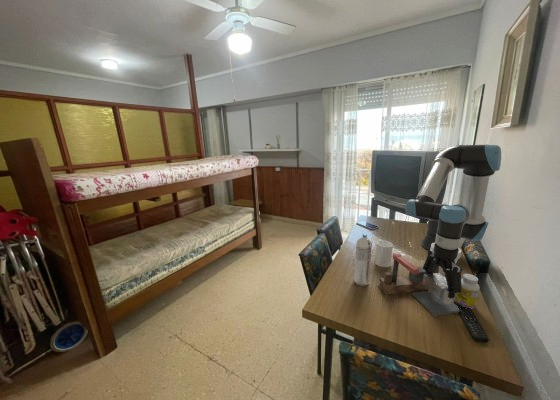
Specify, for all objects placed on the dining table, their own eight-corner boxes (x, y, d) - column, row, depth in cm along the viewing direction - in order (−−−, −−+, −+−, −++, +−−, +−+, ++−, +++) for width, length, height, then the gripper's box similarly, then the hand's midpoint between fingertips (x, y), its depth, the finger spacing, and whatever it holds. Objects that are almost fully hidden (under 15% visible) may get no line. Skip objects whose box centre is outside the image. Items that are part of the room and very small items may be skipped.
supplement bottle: (450, 299, 94) (455, 272, 90) (464, 297, 94) (470, 271, 91) (464, 310, 87) (470, 282, 84) (479, 309, 88) (486, 281, 84)
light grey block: (437, 283, 95) (439, 273, 93) (455, 297, 86) (457, 286, 85) (422, 284, 94) (423, 274, 93) (438, 299, 85) (440, 288, 84)
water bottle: (361, 288, 102) (365, 239, 96) (350, 280, 108) (353, 233, 102) (371, 283, 105) (376, 235, 99) (360, 276, 111) (364, 230, 105)
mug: (386, 272, 114) (389, 251, 111) (370, 266, 119) (371, 246, 116) (392, 262, 122) (395, 242, 119) (377, 257, 128) (378, 238, 125)
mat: (437, 292, 98) (438, 290, 98) (461, 312, 86) (462, 310, 86) (412, 294, 97) (412, 292, 97) (433, 315, 85) (434, 313, 85)
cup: (430, 276, 109) (434, 251, 106) (424, 263, 120) (428, 240, 117) (460, 280, 105) (466, 255, 101) (451, 267, 116) (456, 243, 112)
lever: (419, 273, 86) (420, 269, 86) (412, 274, 86) (412, 270, 85) (397, 256, 99) (398, 252, 98) (391, 257, 98) (391, 253, 98)
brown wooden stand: (430, 280, 106) (435, 252, 102) (440, 288, 100) (445, 258, 96) (379, 285, 104) (382, 256, 100) (386, 294, 98) (389, 263, 94)
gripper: (417, 234, 95) (411, 279, 101) (463, 261, 74) (451, 316, 80) (433, 233, 95) (426, 278, 101) (483, 259, 75) (470, 313, 80)
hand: (437, 294), depth 91 cm, fingers closed on light grey block, 9 cm apart
